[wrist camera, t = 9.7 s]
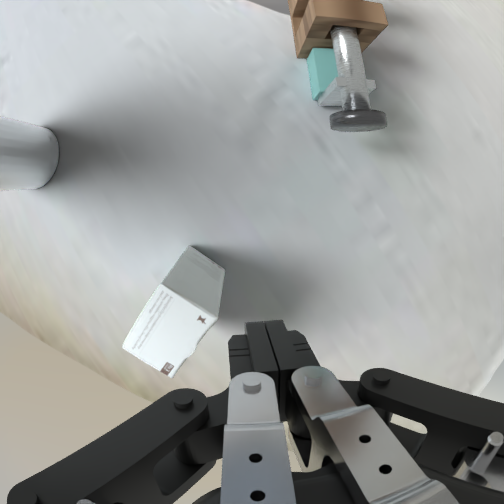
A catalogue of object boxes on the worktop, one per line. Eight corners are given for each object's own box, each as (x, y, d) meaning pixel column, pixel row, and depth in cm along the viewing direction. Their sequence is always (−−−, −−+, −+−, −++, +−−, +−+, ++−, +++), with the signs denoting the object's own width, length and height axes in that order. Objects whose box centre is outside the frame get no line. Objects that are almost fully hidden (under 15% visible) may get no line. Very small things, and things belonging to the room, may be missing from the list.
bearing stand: (296, 58, 35) (319, 8, 22) (287, -1, 33) (302, -57, 20) (354, 60, 35) (393, 18, 22) (341, 3, 33) (370, -47, 20)
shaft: (315, 137, 36) (340, 120, 26) (296, 2, 32) (310, -40, 22) (360, 137, 36) (397, 123, 26) (337, 5, 32) (360, -33, 22)
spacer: (312, 100, 36) (319, 91, 32) (306, 59, 35) (312, 47, 31) (348, 100, 36) (359, 92, 32) (342, 61, 35) (351, 50, 31)
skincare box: (189, 243, 39) (159, 274, 24) (228, 270, 40) (221, 316, 25) (156, 295, 40) (116, 346, 25) (193, 320, 41) (172, 382, 26)
